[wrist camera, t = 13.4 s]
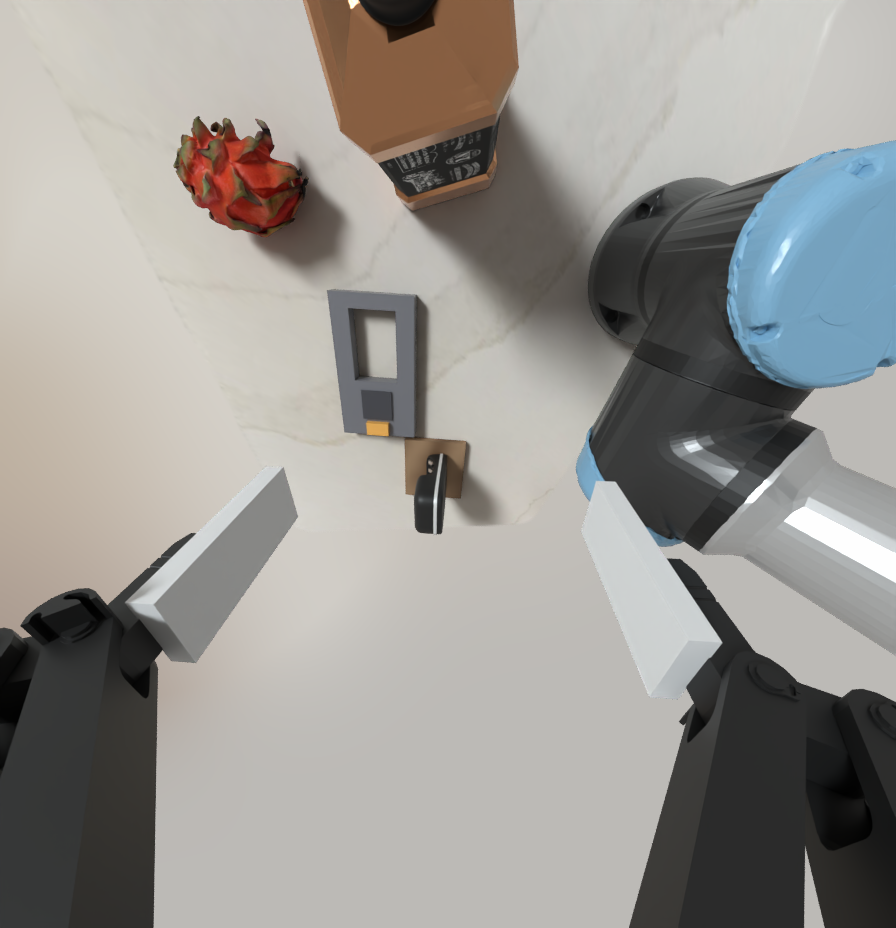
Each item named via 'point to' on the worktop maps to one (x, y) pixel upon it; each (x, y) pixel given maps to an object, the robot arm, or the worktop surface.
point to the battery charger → (431, 495)
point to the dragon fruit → (239, 178)
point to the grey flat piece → (373, 398)
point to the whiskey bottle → (420, 87)
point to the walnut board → (417, 459)
